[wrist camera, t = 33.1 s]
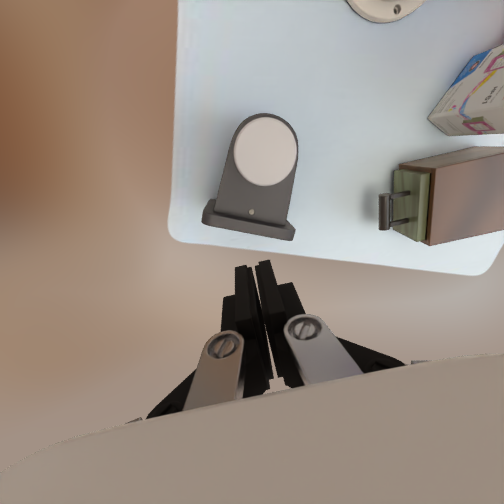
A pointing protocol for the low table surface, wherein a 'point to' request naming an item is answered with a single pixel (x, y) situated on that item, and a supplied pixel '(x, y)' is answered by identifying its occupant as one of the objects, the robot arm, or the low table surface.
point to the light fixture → (257, 179)
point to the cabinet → (463, 193)
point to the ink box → (474, 98)
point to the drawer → (407, 204)
